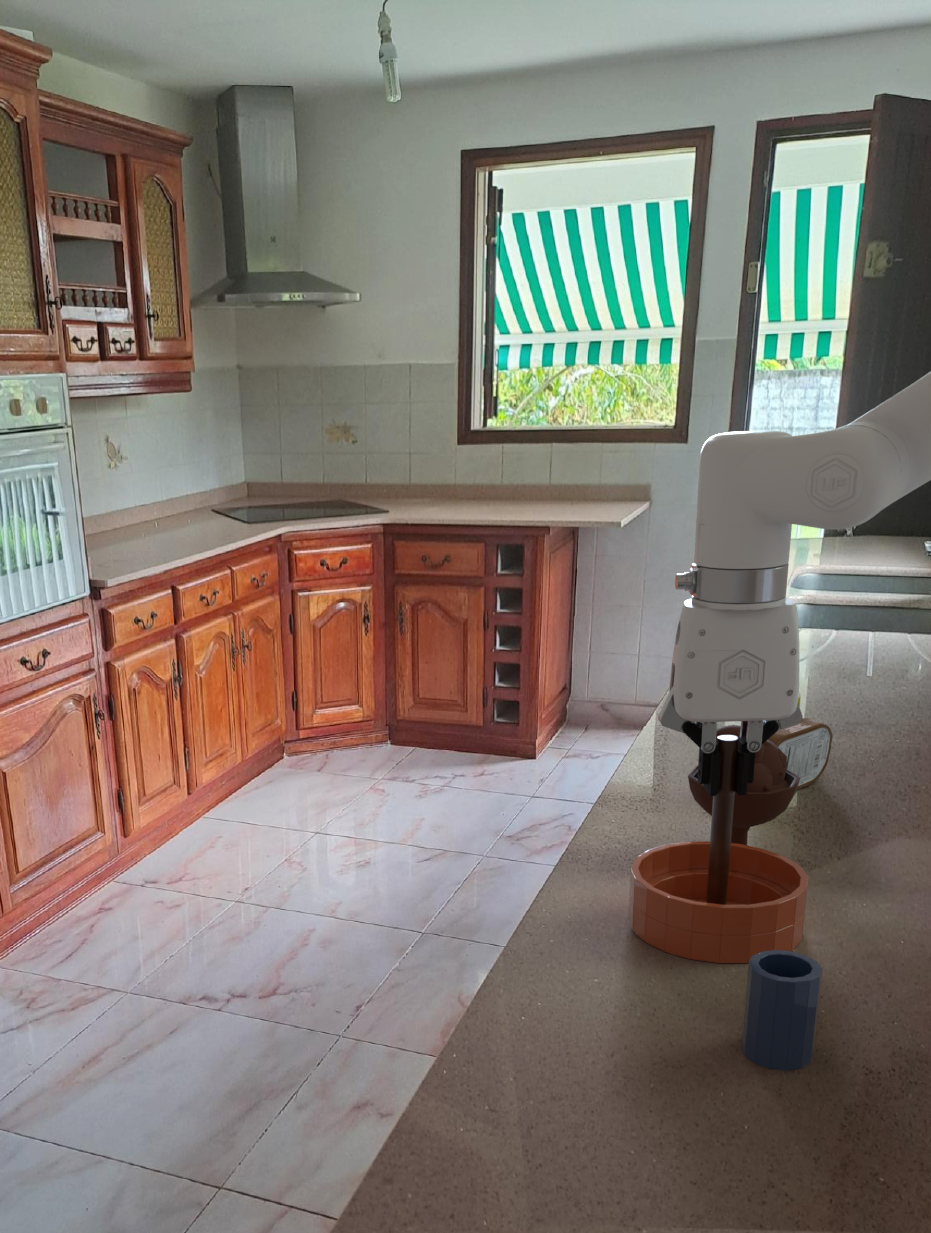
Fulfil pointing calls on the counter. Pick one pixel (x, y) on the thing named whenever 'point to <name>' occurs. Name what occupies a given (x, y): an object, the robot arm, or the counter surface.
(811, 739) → the tin
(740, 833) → the ice cream bowl
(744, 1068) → the counter surface
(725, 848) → the stirring stick
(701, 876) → the mixing bowl
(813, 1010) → the utensil pot
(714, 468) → the robot arm
